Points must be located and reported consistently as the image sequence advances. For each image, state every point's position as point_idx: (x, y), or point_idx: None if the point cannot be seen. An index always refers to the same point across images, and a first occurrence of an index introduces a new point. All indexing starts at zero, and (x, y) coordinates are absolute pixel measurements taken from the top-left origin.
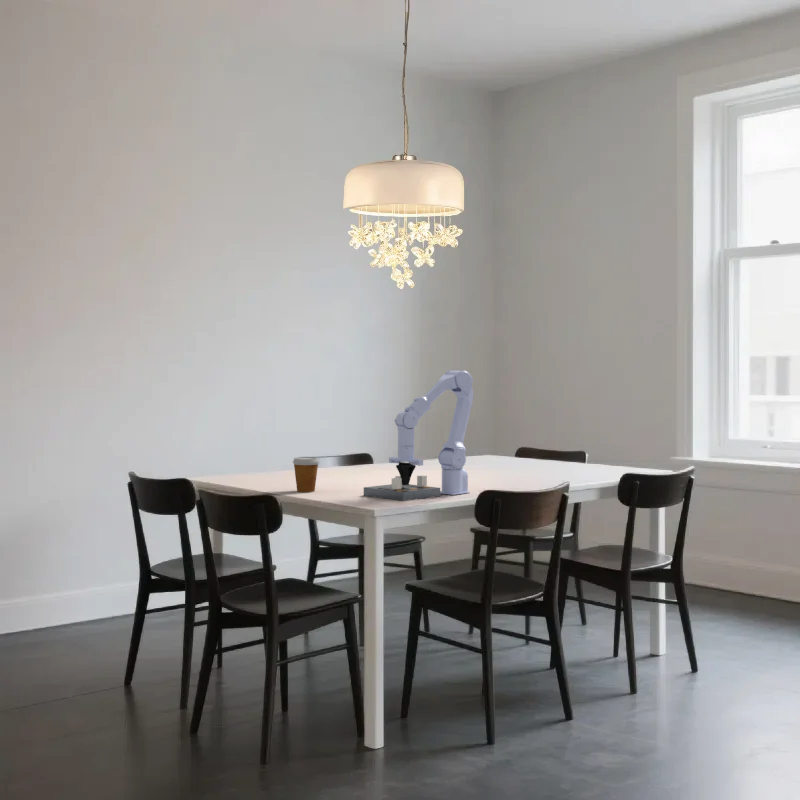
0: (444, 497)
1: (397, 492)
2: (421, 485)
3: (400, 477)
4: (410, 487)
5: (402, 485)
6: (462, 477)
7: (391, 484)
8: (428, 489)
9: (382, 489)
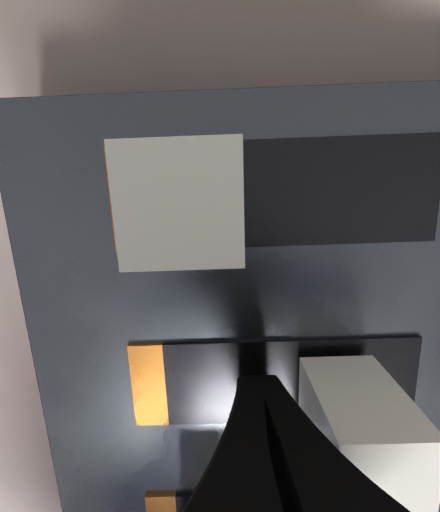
0: (33, 487)
1: (80, 98)
2: None
3: (333, 435)
4: None
5: (301, 393)
6: None
7: None
8: (53, 459)
9: (338, 102)
